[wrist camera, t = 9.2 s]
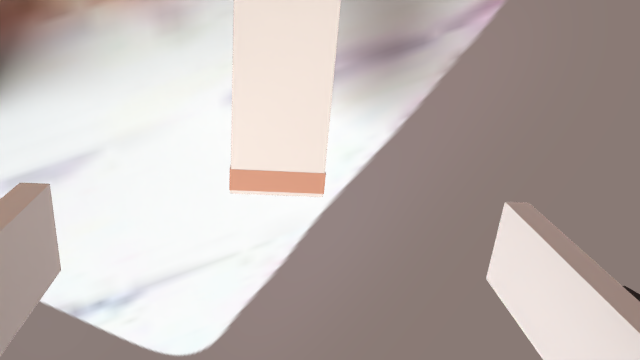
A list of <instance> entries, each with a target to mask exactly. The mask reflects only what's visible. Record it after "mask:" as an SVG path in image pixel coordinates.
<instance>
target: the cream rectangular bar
mask: <svg viewBox="0 0 640 360" xmlns="http://www.w3.org/2000/svg"><path fill="white" fill-rule="evenodd" d="M340 5H341V0H234V19H233V76H232V133H231V166H230V193H232V194H258V195H283V196H309V197H323V194H324V186H325V175H326V173H325V165H326V154H327V143H328V133H329V122H330V111H331V101H332V90H333V79H334V69H335V58H336V47H337V37H338V26H339V15H340Z"/></svg>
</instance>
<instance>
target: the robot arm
mask: <svg viewBox="0 0 640 360" xmlns="http://www.w3.org/2000/svg"><path fill="white" fill-rule="evenodd" d="M60 271H61V267H60V259H59V251H58V244H57V236H56V228H55V221H54V213H53V205H52V198H51V190H50V184H38V183H19V184H18V185H17V186H16V187H14V188H13V189H12V190H11V191H10V192H8V193H7V194H6V195H5V196H4V197H2V198H1V199H0V356H1V355H2V353H3V352H4V350H5V349H6V348H7V346H8V345H9V343H10V341H12V339H13V338H14V336H15V334H16V333H17V332H18V331H19V329H20V328H21V326H22V325H23V323H24V322H25V321H26V319H27V318H28V316H29V315H30V313H31V312H32V311H33V309H34V308H35V306H36V305H37V303H38V302H39V301H40V299H41V298H42V296H43V295H44V294H45V292H46V291H47V289H48V288H49V286H50V285H51V284H52V282H53V281H54V279H55V278H56V276H57V275H58V274H59V272H60ZM486 279H487V281H488V282H489V283H490V285H491V286H492V288H493V289H494V291H495V292H496V293H497V295H498V296H499V297H500V299H501V300H502V302H503V303H504V305H505V306H506V307H507V309H508V310H509V312H510V313H511V315H512V316H513V318H514V319H515V320H516V322H517V323H518V325H519V326H520V327H521V329H522V330H523V332H524V333H525V335H526V336H527V337H528V339H529V340H530V342H531V343H532V345H533V346H534V347H535V349H536V350H537V352H538V353H539V354H540V356H541V357H542V359H543V360H640V294H638V293H636V292H635V291H633V290H631V289H629V288H628V287H626V286H621V285H620V284H619V283H618V282H617V281H616V280H615V279H614V278H613V277H611V276H610V275H609V274H608V273H607V272H606V271H605V270H604V269H603V268H601V267H600V266H599V265H598V264H597V263H596V262H595V261H594V260H592V259H591V258H590V257H589V256H588V255H587V254H586V253H585V252H584V251H582V250H581V249H580V248H579V247H578V246H577V245H576V244H574V243H573V242H572V241H571V240H570V239H569V238H568V237H567V236H566V235H564V234H563V233H562V232H561V231H560V230H559V229H558V228H557V227H555V226H554V225H553V224H552V223H551V222H550V221H549V220H547V218H545V217H544V216H543V215H542V214H541V213H539V211H537V210H536V209H535V208H534V207H533V206H532V205H531V204H530V203H523V202H505V204H504V208H503V212H502V216H501V221H500V224H499V228H498V233H497V237H496V241H495V245H494V249H493V253H492V257H491V261H490V265H489V269H488V273H487V277H486Z"/></svg>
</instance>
